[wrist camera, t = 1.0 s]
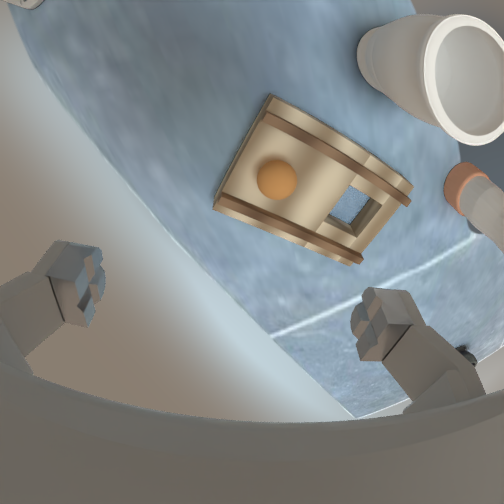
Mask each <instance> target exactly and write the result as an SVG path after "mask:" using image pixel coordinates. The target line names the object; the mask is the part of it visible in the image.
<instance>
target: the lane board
mask: <svg viewBox="0 0 504 504" xmlns="http://www.w3.org/2000/svg"><path fill="white" fill-rule="evenodd" d="M273 160H281V161H284V162H286V163H288V164H289V165H291V166H292V167H293V169H294V170H295V172H296V175H297V185H296V188H295V190H294V192H293V193H292V194H291V195H290V196H288V197H287V198H285V199H281V200H273V199H270V198H267V197H266V196H264V195H263V194H262V193H261V191H260V190H259V188H258V185H257V174H258V172H259V170H260V168H261V167H262V166H263V165H264V164H265V163H267V162H269V161H273ZM349 185H351V186H353V187H354V188H356V189H358V190H359V191H361V192H363V193H364V194H366V195H368V196H369V197H371V198H370V199H369V201H368V202H367V203H366V205H365V206H364V207H363V208H362V210H361V211H360V212H359V214H358V215H357V216H356V218H355V219H354V220H353V222H352V223H351V224H350V225H349V224H347V223H345V222H343V221H341V220H339V219H338V218H336V217H334V216H332V215H330V214H329V213H330V212H331V210H332V209H333V207H334V206H335V205H336V203H337V202H338V201H339V199H340V198H341V196H342V195H343V194H344V192H345V191H346V189H347V188H348V187H349ZM413 188H414V186H413V185H412V184H411V183H410V182H409V181H408V180H407V179H405V178H404V177H403V176H402V175H401V174H399V173H398V172H397V171H395V170H394V169H393V168H391V167H390V166H389V165H387V164H386V163H385V162H383V161H382V160H380V159H379V158H378V157H376V156H375V155H373V154H372V153H370V152H369V151H367V150H366V149H365V148H363V147H362V146H360V145H359V144H357V143H356V142H354V141H352V140H351V139H349V138H348V137H346V136H345V135H343V134H342V133H340V132H338V131H337V130H335V129H334V128H332V127H330V126H329V125H327V124H325V123H324V122H322V121H320V120H319V119H317V118H315V117H313V116H312V115H310V114H308V113H306V112H305V111H303V110H301V109H299V108H297V107H296V106H294V105H292V104H290V103H288V102H286V101H284V100H282V99H281V98H279V97H277V96H275V95H273V94H271V93H270V95H269V96H268V98H267V100H266V102H265V103H264V105H263V107H262V109H261V110H260V112H259V114H258V116H257V118H256V119H255V121H254V123H253V125H252V126H251V128H250V130H249V132H248V134H247V136H246V137H245V139H244V141H243V143H242V145H241V147H240V148H239V150H238V152H237V154H236V156H235V158H234V160H233V162H232V164H231V165H230V167H229V169H228V171H227V173H226V175H225V177H224V179H223V181H222V183H221V185H220V187H219V189H218V191H217V193H216V195H215V197H214V203H213V210H215V211H218V212H220V213H223V214H225V215H228V216H230V217H233V218H235V219H238V220H240V221H243V222H245V223H247V224H250V225H252V226H255V227H257V228H260V229H262V230H265V231H267V232H269V233H272V234H274V235H277V236H279V237H281V238H284V239H286V240H289V241H291V242H293V243H296V244H298V245H301V246H303V247H305V248H308V249H310V250H312V251H315V252H317V253H320V254H322V255H324V256H327V257H329V258H331V259H334V260H336V261H338V262H341V263H343V264H345V265H347V266H351V265H352V263H353V262H354V263H357V264H360V263H361V262H362V261H363V260H364V259H363V257H362V255H361V253H362V252H363V251H364V249H365V248H366V247H367V246H368V245H369V243H370V242H371V241H372V240H373V239H374V237H375V236H376V235H377V234H378V233H379V231H380V230H381V229H382V228H383V226H384V225H385V224H386V223H387V221H388V220H389V219H390V218H391V216H392V215H393V214H394V213H395V211H396V210H397V209H398V207H399V206H400V205H401V204H403V205H405V206H406V207H407V206H408V205H409V204H410V202H411V200H410V199H409V198H408V194H409V193H410V192H411V190H412V189H413Z"/></svg>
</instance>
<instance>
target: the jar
mask: <svg viewBox="0 0 504 504" xmlns="http://www.w3.org/2000/svg"><path fill="white" fill-rule="evenodd" d="M357 62H358V66H359V69H360V71H361V73H362V75H363V77H364V78H365V80H366V81H367V82H368V83H369V84H370V85H371V86H372V87H374V88H375V89H377V90H379V91H381V92H383V93H384V94H385V95H386V96H387V97H388V98H390V99H391V100H392V101H394V102H395V103H396V104H397V105H398V106H399V107H401V108H402V109H403V110H405V111H406V112H408V113H409V114H411V115H412V116H414V117H416V118H418V119H420V120H422V121H424V122H426V123H429V124H431V125H434V126H437V127H440V128H441V129H442V130H443V131H444V132H446V133H447V134H448V135H449V136H451V137H453V138H454V139H456V140H458V141H460V142H462V143H465V144H468V145H483V144H487V143H489V142H491V141H493V140H495V139H496V138H497V137H498V136H500V135H501V134H502V132H503V131H504V41H503V40H502V38H501V37H500V36H499V35H498V34H497V32H496V31H495V30H494V29H493V28H492V27H490V26H489V25H488V24H486V23H485V22H484V21H482V20H480V19H478V18H475V17H473V16H469V15H461V14H452V15H448V16H445V17H444V16H439V15H431V14H418V15H410V16H406V17H403V18H400V19H397V20H395V21H393V22H390V23H388V24H386V25H384V26H382V27H377V28H374V29H372V30H370V31H368V32H367V33H366V34H365V35H364V36H363V37H362V38H361V40H360V42H359V45H358V48H357Z"/></svg>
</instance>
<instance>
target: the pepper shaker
mask: <svg viewBox="0 0 504 504" xmlns="http://www.w3.org/2000/svg"><path fill="white" fill-rule="evenodd" d="M444 195H445V198H446V200H447V201H448V202H449V203H450V205H451V206H452V207H453V208H454V209H455V210H456V211H457V212H458V213H459V214H461V215H462V216H465V217H466V218H467V219H468V220H469V221H470V222H471V223H472V224H473V225H474V227H476V228H477V229H479V230H480V231H481V232H482V233H483V234H485V235H486V236H487V237H489V238H490V239H491V240H492V241H493V242H494V243H495V244H496V245H497V246H498V248H499V249H500V250H501V251H502V252H503V253H504V193H503V191H502V190H501V189H500V188H499V187H497V186H496V185H495V184H494V183H492V182H491V181H490V180H489V178H488V176H487V175H485V173H483V172H482V171H481V170H480V169H478V168H477V167H476V166H474V165H473V164H471V163H468V162H463V163H460V164H458V165H456V166H455V167H454V168H453V169H452V170H451V171H450V173H449V174H448V176H447V178H446V181H445V184H444Z"/></svg>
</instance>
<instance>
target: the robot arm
mask: <svg viewBox="0 0 504 504" xmlns="http://www.w3.org/2000/svg"><path fill="white" fill-rule="evenodd" d="M2 1H5V2H8V3H11V4H14V5H17V6H20V7H23V8H25V9H35V8H36V7H37V6H39V5H40V4H41V3H42V2H43V1H44V0H2ZM102 260H103V258H102V251H101V250H100V249H99V248H98V247H93V246H88V245H83V244H78V243H73V242H67V241H61V240H57V241H54V243H53V244H52V245H51V247H50V248H49V249H48V250H47V251H46V253H45V254H44V255H43V257H42V258H41V259H40V261H39V262H38V263H37V265H36V266H35V267H34V269H33V270H32V271H31V272H25V273H24V274H22V275H20V276H18V277H16V278H14V279H12V280H11V281H9V282H7V283H5V284H3V285H1V286H0V504H504V389H503V390H500V391H497V392H494V393H491V394H487V395H486V393H485V390H484V388H483V385H482V383H481V381H480V378H479V377H478V374H477V372H476V369H475V367H474V366H473V365H472V364H471V363H470V362H469V361H468V360H467V359H466V358H465V357H464V356H463V355H462V354H460V353H459V352H458V351H457V350H456V349H455V348H454V347H453V346H452V345H451V344H449V343H448V342H447V341H446V340H445V339H444V338H443V337H442V336H441V335H439V334H438V333H437V332H436V331H435V330H434V329H433V328H431V327H430V326H426V324H425V322H424V320H423V318H422V316H421V314H420V312H419V310H418V308H417V306H416V304H415V302H414V300H413V298H412V297H411V295H410V293H409V292H407V291H406V290H395V289H394V290H391V289H382V288H374V287H368V288H367V289H366V290H365V291H364V292H363V294H362V300H363V301H362V302H361V303H359V304H358V305H356V306H355V308H354V310H353V312H352V315H351V321H350V323H351V330H352V334H353V335H354V336H355V337H357V338H358V341H357V343H356V347H357V351H358V354H359V358H360V361H382V364H383V365H384V366H385V367H386V369H387V370H388V371H389V372H390V373H391V375H392V376H393V377H394V378H395V380H396V381H397V382H398V383H399V385H400V386H401V387H402V389H403V390H404V391H405V392H406V394H407V395H408V396H409V397H410V399H411V400H412V401H413V402H412V403H411V404H410V405H409V406H408V407H406V408H405V409H404V411H403V414H401V415H394V416H386V417H378V418H369V419H360V420H348V421H333V422H305V423H279V422H252V421H236V420H224V419H214V418H204V417H196V416H189V415H183V414H176V413H170V412H164V411H158V410H153V409H148V408H143V407H138V406H134V405H129V404H124V403H120V402H116V401H112V400H108V399H104V398H101V397H97V396H94V395H90V394H87V393H83V392H80V391H77V390H74V389H71V388H67V387H65V386H61V385H59V384H56V383H53V382H50V381H47V380H45V379H42V378H39V377H37V376H34V375H33V370H32V368H31V367H30V365H29V364H28V362H27V361H26V359H25V357H26V356H27V355H28V354H29V353H30V352H31V351H33V350H34V349H35V348H36V347H37V346H38V345H40V344H41V343H42V342H43V341H44V340H45V339H47V338H48V337H49V336H50V335H51V334H53V333H54V332H55V331H56V330H57V329H59V327H61V326H62V325H63V324H64V322H65V323H70V324H73V325H78V326H82V327H87V328H88V327H89V324H90V322H91V320H92V318H93V316H94V313H95V307H94V304H96V303H97V302H99V301H100V300H101V298H102V296H103V293H104V289H105V278H106V277H105V271H104V270H103V268H102V267H101V266H100V263H101V262H102Z"/></svg>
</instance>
